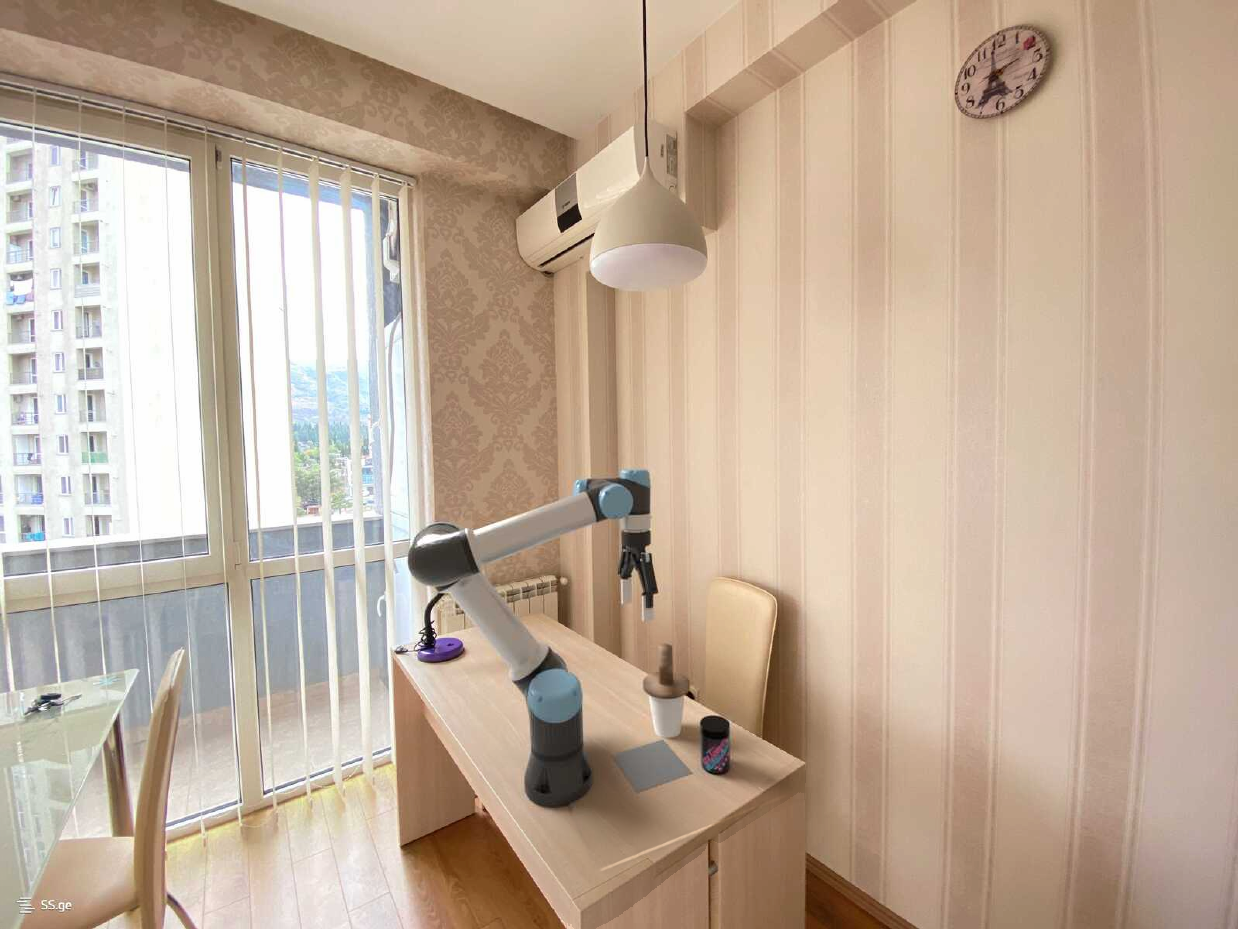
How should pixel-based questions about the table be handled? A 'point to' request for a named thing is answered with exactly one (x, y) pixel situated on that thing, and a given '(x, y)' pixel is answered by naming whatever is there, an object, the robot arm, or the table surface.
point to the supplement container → (715, 744)
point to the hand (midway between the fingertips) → (636, 611)
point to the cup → (667, 716)
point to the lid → (666, 678)
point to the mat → (651, 765)
